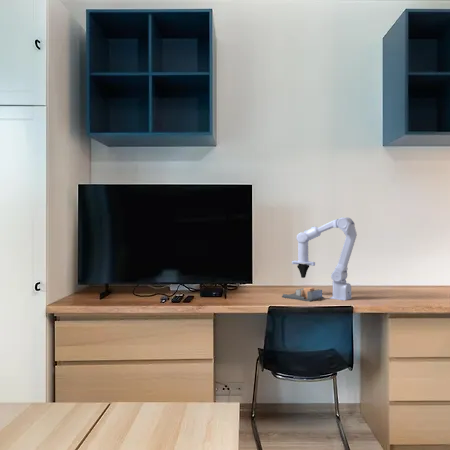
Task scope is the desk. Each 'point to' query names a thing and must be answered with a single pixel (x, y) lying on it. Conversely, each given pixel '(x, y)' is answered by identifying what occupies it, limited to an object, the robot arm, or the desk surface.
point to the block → (307, 291)
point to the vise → (311, 296)
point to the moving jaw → (300, 292)
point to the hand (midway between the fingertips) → (303, 277)
